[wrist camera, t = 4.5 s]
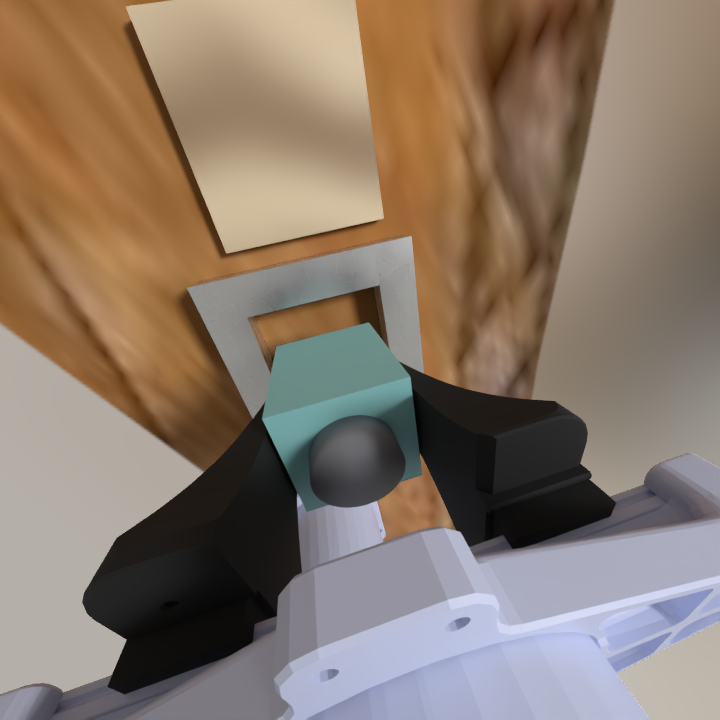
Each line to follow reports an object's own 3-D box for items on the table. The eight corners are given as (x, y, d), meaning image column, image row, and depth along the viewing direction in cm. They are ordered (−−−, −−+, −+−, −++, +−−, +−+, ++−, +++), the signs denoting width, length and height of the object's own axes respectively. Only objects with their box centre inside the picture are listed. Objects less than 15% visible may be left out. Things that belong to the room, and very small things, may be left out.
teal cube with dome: (382, 396, 15) (433, 497, 9) (304, 419, 15) (307, 539, 9) (368, 322, 13) (423, 394, 7) (276, 346, 13) (257, 442, 7)
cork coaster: (381, 218, 14) (383, 218, 13) (228, 252, 13) (226, 253, 13) (349, -12, 10) (352, -23, 10) (133, 17, 9) (125, 6, 9)
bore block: (418, 395, 20) (426, 406, 18) (272, 437, 19) (270, 453, 17) (401, 235, 14) (411, 235, 13) (197, 282, 13) (186, 287, 12)
